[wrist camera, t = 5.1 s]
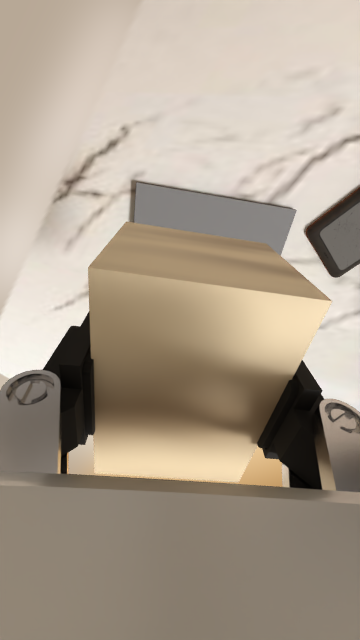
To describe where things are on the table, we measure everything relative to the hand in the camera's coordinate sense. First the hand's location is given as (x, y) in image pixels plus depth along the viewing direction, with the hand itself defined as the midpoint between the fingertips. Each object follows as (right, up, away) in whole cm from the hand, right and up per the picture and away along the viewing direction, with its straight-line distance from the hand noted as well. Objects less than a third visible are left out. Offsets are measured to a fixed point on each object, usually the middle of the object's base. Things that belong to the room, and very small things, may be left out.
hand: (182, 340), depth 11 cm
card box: (0, +1, +1) cm, 2 cm away
